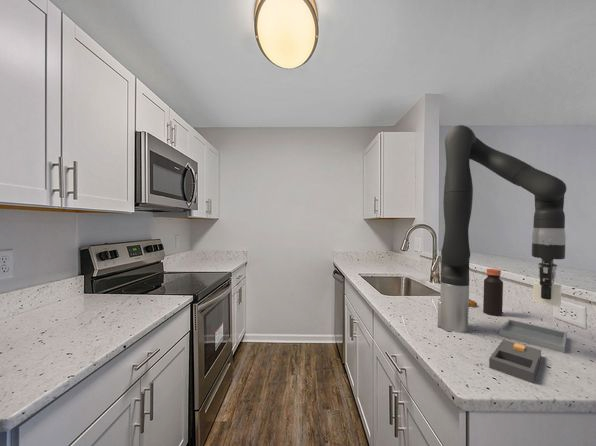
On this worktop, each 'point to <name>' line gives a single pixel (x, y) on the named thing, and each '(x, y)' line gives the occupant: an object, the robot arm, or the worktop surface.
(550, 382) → the worktop surface
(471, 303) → the pastry
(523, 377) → the grey slotted base
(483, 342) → the worktop surface
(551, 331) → the tray
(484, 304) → the bottle
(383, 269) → the worktop surface
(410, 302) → the worktop surface
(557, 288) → the block
